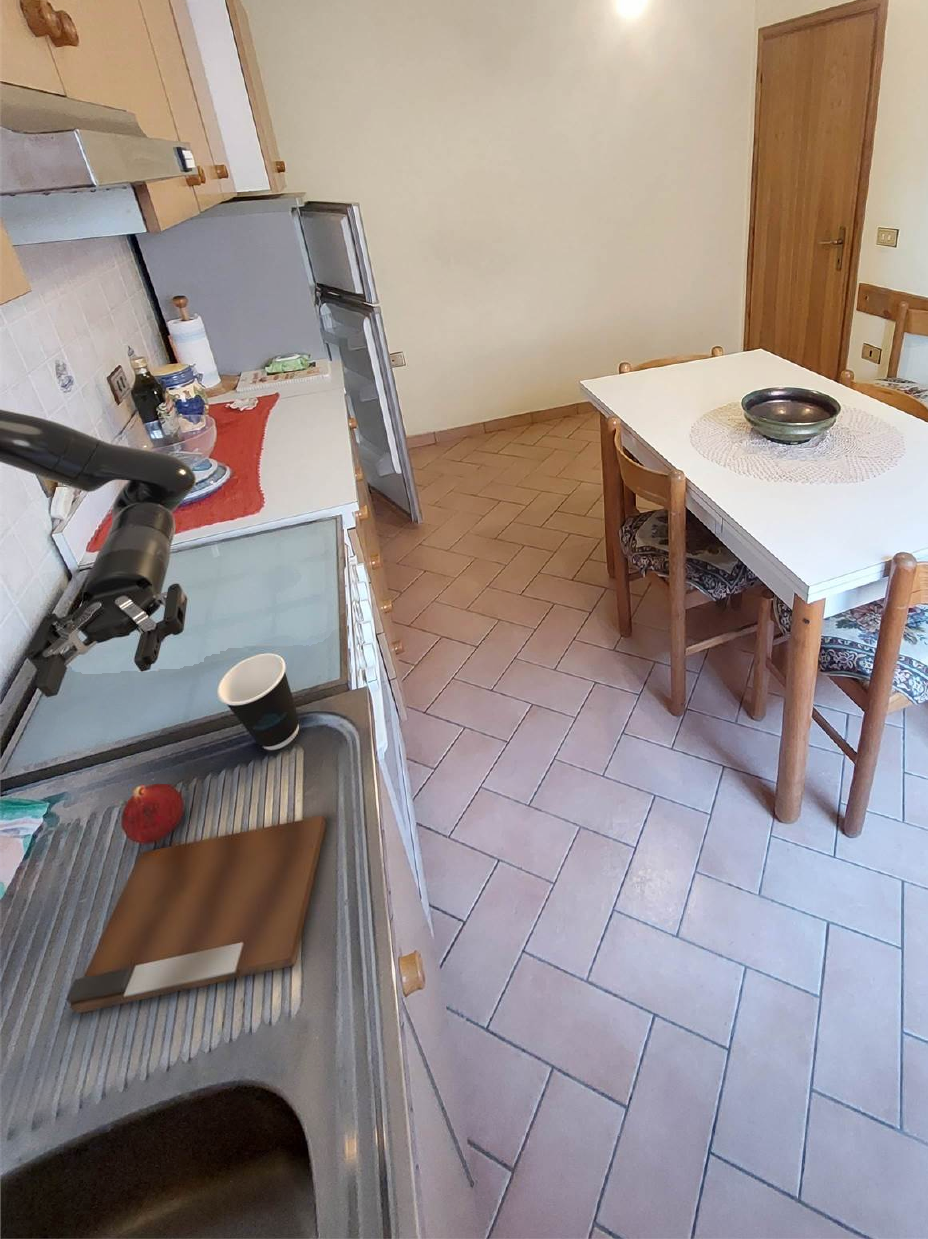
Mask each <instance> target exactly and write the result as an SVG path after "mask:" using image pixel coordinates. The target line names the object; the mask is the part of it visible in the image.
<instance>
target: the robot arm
mask: <svg viewBox="0 0 928 1239" xmlns="http://www.w3.org/2000/svg"><path fill="white" fill-rule="evenodd" d="M0 463H3V464H4V465H8V466H11V467H14V468H17V469H20V470H22V471H25V472H28V473H30V474H33V475H36V476H39V477H41V478H44V479H46V480H49V481H51V482H52V481H53V482H55V483H58V484H60V485H62V486H63V485H64V486H66V487H67V486H68V487H69V488H72V489H75V490H78V491H81V492H86V493H92V492H95V491H98V490H99V489H100V488H102V487H104V486H105V485H107V484H109V483H110V482H113V481H127V482H126V483H125V484H124V486H123V487H122V488H121V489H120V491H119V493H118V494H117V496H116V498H115V500H114V501H113V506H112V523H111V526H110V527H109V530H108V532H107V535H106V538H105V540H104V542H103V544H102V545H101V546H100V548H99V550H98V553H97V555H96V557H95V560H94V563H93V565H92V567H91V569H90V572H89V575H88V577H87V581H86V583H85V585H84V588H83V590H82V594H81V595H82V597H81V604H80V606H79V607H78V608H77V609H76V610H75V611H74V612H73V613H72V614H69V615H65V616H60V617H59V616H58V615H57V614H56V613H54V612H52V613H48V614H47V615H45V616H44V617H43V618H42V620H41V622H40V625H39V626H38V628H37V630H36V632H35V634H34V635H33V637H32V639H31V641H30V643H29V645H28V647H27V649H26V651H25V652H24V657H25V658H26V659H27V660H29V662H30V663H31V664H32V665H33V667H34V668H35V669H36V671H39V672H38V674H37V677H36V679H35V681H34V683H35V684H34V685H35V687H36V688H37V689H38V690H39V691H40V692H41V693H42V694H43V695H44V696H45V697H46V698H51V697H54V696H55V697H56V696H57V695H58V694H59V691H60V689H61V686H62V683H63V680H64V678H65V676H66V674H67V673H66V672H67V670H68V667H67V666H68V665H69V664H70V663H71V662H73V661H74V660H75V659H76V658H77V657H78V656H80V655H85V654H87V653H88V652H89V651H90V650H91V649H92V648H94V646H96V645H97V644H101V643H105V642H107V641H110V640H113V639H116V638H117V639H118V638H124V637H125V638H126V637H128V636H130V635H131V633H133V632H135V631H137V632H138V633H139V634H140V636H139V640H138V643H137V647H136V650H135V654H134V657H133V661H134V664H135V665H136V666H137V668H138V669H139V671H140V672H142V673H143V672H147V671H149V670H151V668H152V665H154V664H156V662H157V661H158V658H159V654H160V651H161V647H162V643H163V642H165V640H166V637H169V636H171V635H173V636H178V635H180V634H182V633H183V631H184V630H185V623H186V622H185V621H186V616H187V615H186V613H187V605H188V597H187V595H186V593H185V592H184V590H183V589H182V586H181V585H180V584H179V583H172V584H171V585H169V586H168V587H167V591H165V592H162V590H163V587H164V584H165V580H166V576H167V571H168V568H169V564H170V560H171V559H170V558H171V557H170V556H171V547H172V543H173V540H174V536H175V533H176V519H175V516H174V514H173V513H174V511H175V510H176V509H177V508H178V507H179V506H180V505H181V503H182V502H183V501H184V500H185V499H186V498H187V497H188V496H189V494H190V493H191V492H192V491H193V489H194V488H195V486H196V482H197V477H196V473H195V472H194V471H193V469H192V468H191V466H190V465H189V464H188V463H186V462H185V461H183V460H182V459H180V458H178V457H176V456H174V455H170V454H167V453H163V452H158V451H152V450H148V449H147V450H146V449H140V448H135V447H130V446H125V445H119V444H114V443H113V444H112V443H108V442H106V441H103V440H102V439H98V438H96V437H94V436H92V435H89V434H87V433H84V432H82V431H79V430H77V429H75V428H72V427H69V426H67V425H64V424H61V423H58V422H56V421H52V420H49V419H46V418H42V417H36V416H33V415H28V414H24V413H19V412H15V411H10V410H4V409H0ZM161 606H163V607H164V612H163V617H162V620H160V621H158V622H156V621H155V620H153V619H152V618H151V617H152V616H153V615H154V614H155V613H156V612H158V610H159V609H160V607H161ZM80 632H81V633H82V634H83V635H84V636H85V637H86V638H85V639H84V640H83V641H82V640H81V639H80V637H79V636H78V635H79V633H80ZM67 647H68V650H66V651H65V652H64V653H62V651H63V650H65V648H67Z"/></svg>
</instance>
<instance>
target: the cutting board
mask: <svg viewBox="0 0 928 1239" xmlns="http://www.w3.org/2000/svg"><path fill="white" fill-rule="evenodd" d="M326 824H327V823H326V820H325V818H324V817H323V815H320V816H315V817H310V818H305V819H300V820H295V821H290V822H285V823H280V824H275V825H269V826H265V827H260V828H256V829H251V830H246V831H239V832H235V833H231V834H226V835H221V836H220V835H219V836H216V837H211V838H206V839H201V840H195V841H191V842H187V843H182V844H177V845H171V846H166V847H162V848H161V847H160V848H157V849H151V850H147V851H142V852H140V853H139V854H138V857H137V859H136V861H135V864H134V866H133V867H132V870H131V872H130V875H129V877H128V878H127V881H126V883H125V884H124V887H123V890H122V892H121V893H120V896H119V898H118V900H117V903H116V904H115V907H114V909H113V911H112V913H111V915H110V917H109V920H108V922H107V925H106V927H105V928H104V931H103V933H102V935H101V937H100V940H99V942H98V944H97V946H96V949H95V951H94V953H93V955H92V957H91V960H90V962H89V964H88V966H87V968H86V971H85V973H84V975H83V976H82V977H79V978H75V979H74V981H73V983H72V985H71V988H70V990H69V992H68V994H67V996H66V999H65V1000H66V1001H67V1003H69V1004H70V1005H69V1008H70V1009H71V1010H72V1011H73V1012H74V1013H75V1014H77V1015H80V1014H84V1013H87V1012H92V1011H97V1010H100V1009H105V1008H109V1007H114V1006H119V1005H123V1004H128V1003H132V1002H133V1003H134V1002H136V1001H141V1000H146V999H150V998H154V997H160V996H164V995H168V994H172V993H173V994H174V993H177V992H182V991H186V990H190V989H196V988H199V987H203V986H209V985H212V984H218V983H223V982H227V981H231V980H235V979H239V978H244V977H249V976H253V975H258V974H263V973H266V972H270V971H275V970H276V971H277V970H280V969H285V968H289V967H294V966H295V965H296V961H297V957H298V953H299V948H300V943H301V938H302V934H303V930H304V925H305V920H306V916H307V911H308V907H309V904H310V903H309V902H310V898H311V892H312V888H313V883H314V880H315V875H316V871H317V865H318V861H319V858H320V852H321V847H322V842H323V838H324V833H325V831H326V830H325V829H326Z"/></svg>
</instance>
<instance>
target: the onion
mask: <svg viewBox="0 0 928 1239" xmlns="http://www.w3.org/2000/svg"><path fill="white" fill-rule="evenodd" d="M132 793H133V794H132V796H131V797H130V798H129V799H128V800H127V802H126V804H125V806H124V808H123V810H122V813H121V828H122V830H123V832H124V835H126V837H127V839H129V840H130V841H132V842H134V843H137V844H138V843H139V844H143V845H144V844H152V843H156V842H158V841H161V840H162V839H164V838H166V837H167V836H168V835H169V834H171V832H173V831H174V830H175V829H176V827H177V825H178V824H179V822H180V821H181V817H182V815H183V812H184V808H185V806H184V799H183V795H182V794H181V793H180V791H178V789H177V788H176V787H175V786H174V785H172V784H169V783H153V784H150V785H147V786H146V785H143V784H142V785H138V786H136V788H135V789H134V790H133V791H132Z"/></svg>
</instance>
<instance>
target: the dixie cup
mask: <svg viewBox="0 0 928 1239" xmlns="http://www.w3.org/2000/svg"><path fill="white" fill-rule="evenodd" d="M287 676H288V675H287V673H286V662H285V660H284V659H283V658H282V657H281V656H280V655H278V654H275V653H260V654H256V655H253V656H250V657H247V658H246V659H243V660H242V661H239V662H238V663H236V664H235V665H234V666H233V667H231V668H230V669H229V670H228V671H227V672H225V674H224V675H223V677H222V678H221V679H220V681H219V683H218V686H217V691H216V692H217V698H218V700H219V701H220V702H222V703H223V704H225V705H226V706H227V707H228V709H229V710H230V711H231V712H232V713H233V714H234V716H235V717H236V718H237V719H238V721H239V722H240V723H241V724H242V726H243V727H244V728H245V730H246V731H247V732H248V733H249V735H250V736H251V737H252V739H253V740H254V741H255V742H256V744H257V745H259V746H260V747H262V748H264V749H265V750H267V751H276V750H278V749H281V748H284V747H286V746H287V745H289V744H290V743H291V742H292V741H293V740H294V739H295V738H296V737H297V735H298V733H299V730H300V725H299V723H300V719H299V715H298V711H297V708H296V705H295V701H294V698H293V694H292V691H291V687H290V684H289V679H288V677H287Z"/></svg>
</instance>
